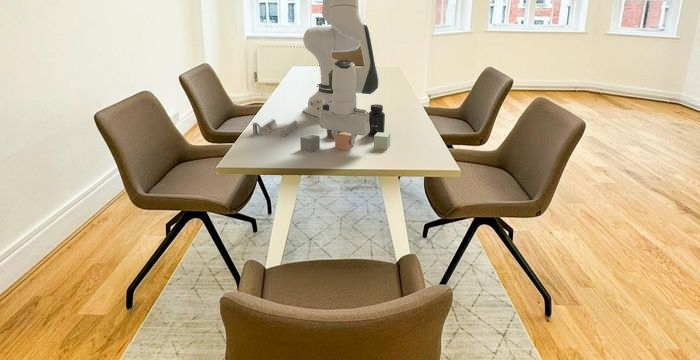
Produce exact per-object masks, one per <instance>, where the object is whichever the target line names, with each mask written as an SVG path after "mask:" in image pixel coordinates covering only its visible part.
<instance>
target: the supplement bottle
mask: <svg viewBox="0 0 700 360" xmlns="http://www.w3.org/2000/svg"><path fill="white" fill-rule="evenodd" d="M383 110H384V106H383V104H376V103H374V104H371V105H370V111H368V113H369V123H370V132H369V133H368V134H367V135H368V136H370V137H373V138H374V135H375V134H376V133H377V132H382V133H385V124H386V123H385V121H386V119H385V118H386V114H385V112H383Z"/></svg>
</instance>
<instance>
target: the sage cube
mask: <svg viewBox="0 0 700 360" xmlns="http://www.w3.org/2000/svg"><path fill="white" fill-rule="evenodd" d="M373 138H374V139H373V149H375V150H376V149H377V150H387V151H388V149H389V148H390V147H391V133H390V132H384V133H382V132H377V133H376V134H375V135H374V137H373Z"/></svg>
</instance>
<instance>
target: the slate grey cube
mask: <svg viewBox="0 0 700 360" xmlns="http://www.w3.org/2000/svg"><path fill="white" fill-rule="evenodd" d="M299 138H300V141H299V143H300V151H305V152H309V153H313V152H316V151H318V150H321V148H320V147H321V145H320V144H321V143H320V142H321V141H320V140H321V139H320V138H321V137H320V135H316V134H311V133H308V134H304V135H302V136H300V137H299Z"/></svg>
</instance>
